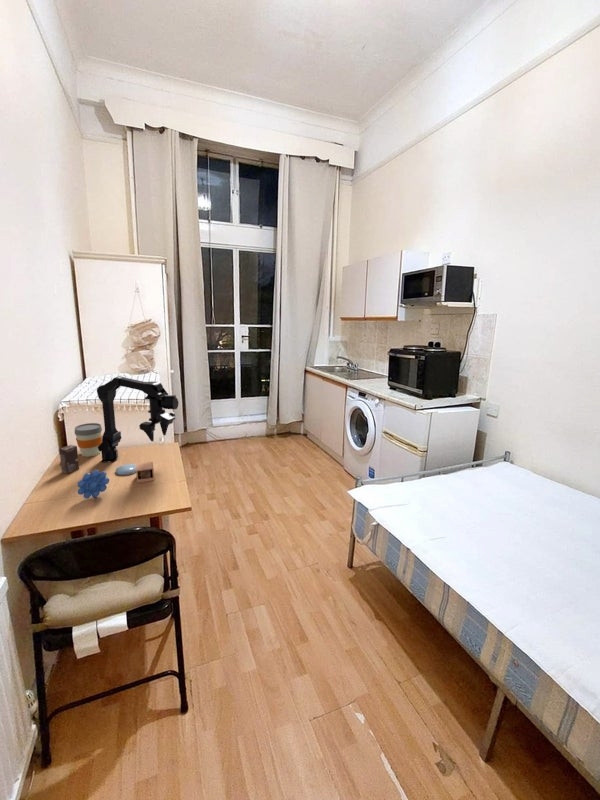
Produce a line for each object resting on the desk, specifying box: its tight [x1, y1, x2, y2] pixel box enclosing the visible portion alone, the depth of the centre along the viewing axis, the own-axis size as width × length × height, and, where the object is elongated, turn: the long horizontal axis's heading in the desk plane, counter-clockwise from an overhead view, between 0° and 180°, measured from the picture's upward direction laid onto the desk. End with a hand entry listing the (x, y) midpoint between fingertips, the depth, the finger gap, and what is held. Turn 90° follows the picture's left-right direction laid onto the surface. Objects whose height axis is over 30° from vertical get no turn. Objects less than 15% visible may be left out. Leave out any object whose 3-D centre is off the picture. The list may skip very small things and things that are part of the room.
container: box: [135, 461, 155, 483], centre depth 163 cm, size 7×7×6 cm
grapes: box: [77, 469, 110, 499], centre depth 146 cm, size 12×7×12 cm, turn 120°
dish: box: [115, 463, 137, 476], centre depth 171 cm, size 10×10×1 cm
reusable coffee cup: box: [74, 422, 103, 458], centre depth 188 cm, size 12×12×15 cm
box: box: [58, 444, 80, 474], centre depth 168 cm, size 6×4×12 cm
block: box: [140, 470, 151, 479], centre depth 164 cm, size 4×4×4 cm
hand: (158, 438), depth 176 cm, fingers open, 9 cm apart
